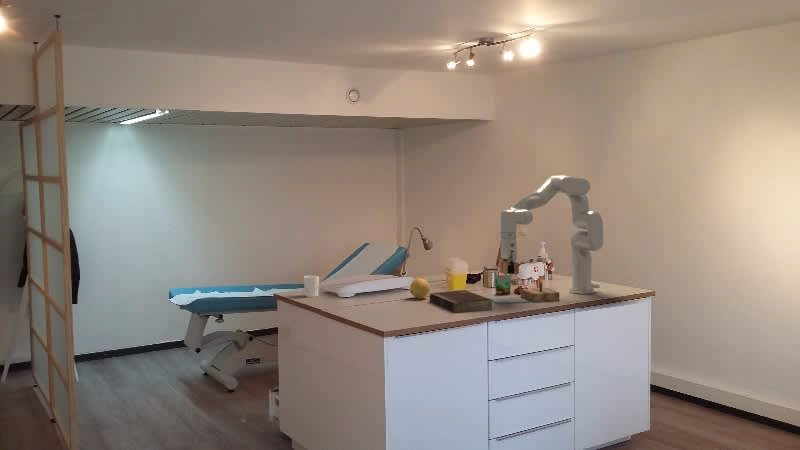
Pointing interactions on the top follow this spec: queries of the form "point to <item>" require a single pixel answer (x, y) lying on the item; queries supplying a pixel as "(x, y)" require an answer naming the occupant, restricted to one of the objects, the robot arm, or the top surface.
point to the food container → (503, 284)
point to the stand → (539, 294)
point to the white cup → (311, 286)
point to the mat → (508, 300)
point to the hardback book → (461, 301)
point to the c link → (504, 267)
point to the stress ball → (419, 288)
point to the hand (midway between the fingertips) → (507, 272)
